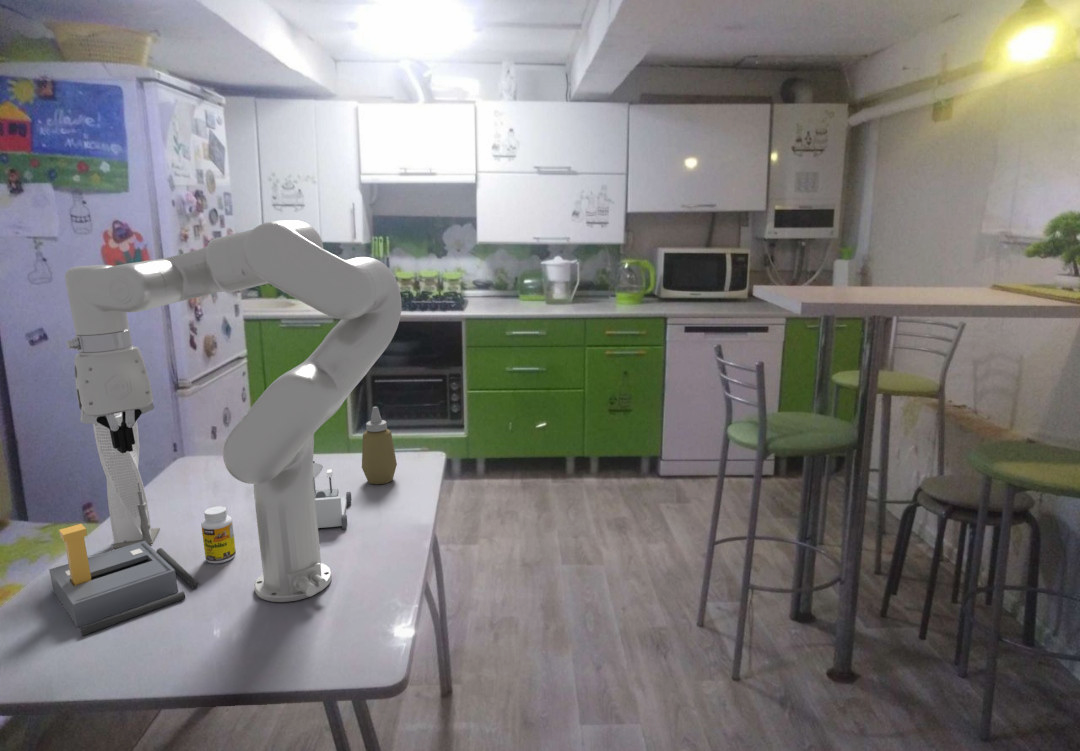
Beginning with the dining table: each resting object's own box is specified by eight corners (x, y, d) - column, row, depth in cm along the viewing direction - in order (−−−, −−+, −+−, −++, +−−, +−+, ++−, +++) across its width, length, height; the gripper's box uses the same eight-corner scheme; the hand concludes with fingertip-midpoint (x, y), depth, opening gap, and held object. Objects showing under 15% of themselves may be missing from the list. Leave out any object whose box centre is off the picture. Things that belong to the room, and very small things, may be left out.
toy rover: (294, 460, 160) (349, 456, 162) (299, 502, 162) (352, 497, 164) (281, 491, 142) (342, 486, 144) (286, 537, 145) (346, 532, 147)
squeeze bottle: (404, 478, 174) (400, 405, 170) (380, 489, 167) (375, 414, 163) (380, 472, 178) (375, 401, 174) (355, 482, 171) (349, 409, 167)
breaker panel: (178, 591, 124) (174, 569, 123) (77, 627, 114) (72, 603, 113) (147, 560, 135) (144, 540, 134) (53, 590, 125) (49, 568, 124)
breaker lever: (95, 584, 121) (85, 528, 119) (73, 591, 119) (63, 535, 116) (90, 578, 123) (81, 523, 121) (69, 585, 121) (58, 529, 118)
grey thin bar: (185, 599, 122) (184, 592, 121) (83, 636, 111) (82, 629, 111) (183, 596, 122) (182, 590, 122) (81, 633, 112) (80, 626, 112)
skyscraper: (103, 551, 139) (80, 410, 133) (114, 533, 147) (92, 399, 140) (152, 544, 142) (131, 405, 135) (160, 527, 149) (141, 395, 143)
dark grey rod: (199, 586, 125) (198, 580, 125) (191, 589, 125) (191, 583, 124) (163, 553, 138) (162, 547, 138) (156, 555, 137) (155, 549, 137)
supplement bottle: (202, 565, 133) (195, 517, 131) (210, 552, 138) (204, 505, 136) (232, 563, 134) (226, 514, 131) (239, 550, 139) (233, 503, 136)
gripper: (56, 353, 110) (80, 468, 114) (162, 337, 120) (179, 443, 124) (45, 348, 115) (68, 458, 119) (147, 333, 125) (164, 435, 129)
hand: (125, 450), depth 122 cm, fingers closed
